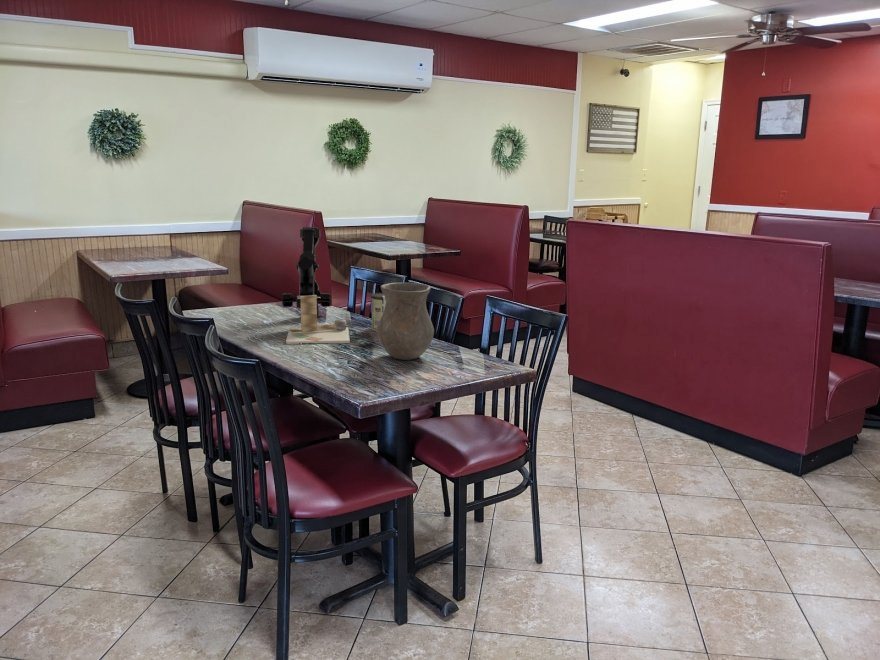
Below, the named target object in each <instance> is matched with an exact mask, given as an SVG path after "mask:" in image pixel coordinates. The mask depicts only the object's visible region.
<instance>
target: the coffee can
mask: <svg viewBox="0 0 880 660" xmlns="http://www.w3.org/2000/svg"><path fill="white" fill-rule="evenodd" d="M383 295H384V294H383V292H377V293H372V294H371V295H370V296H371V331H373V330H375V331H374V332H377V327H378V325H379V322H380V320H381V317H382V297H383Z"/></svg>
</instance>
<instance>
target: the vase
mask: <svg viewBox="0 0 880 660" xmlns="http://www.w3.org/2000/svg"><path fill="white" fill-rule="evenodd" d="M380 290H381V291H382V292H381V293H383V294H384V296H385V299H386V306H385V309H384V312H383V315H382V317H381V320H380V322H379V325H378V327H377V331H376V335H377V338H378V341H379V344H380V345H381V347H382V348H383V350H384V351H385V352H386V353H387V354H388V355H389V356H391V357H392V358H394V359H396V360H401V361H411V360H416V359H418V358H420V357H421V356H422V355H423V354H424V353H426V351H427V350H428V348H429V346H430V345H431V344H432V341H433V338H434V334H435V328H434V325H433V322H432V319H431V317H430V314H429V313H428V309H427V298H428V295H429V293H430V292H431V286H430V285H428V284H424V283H416V282H401V281H400V282H390V283H389V282H388V283H384V284H382V285H380Z"/></svg>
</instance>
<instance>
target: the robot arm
mask: <svg viewBox="0 0 880 660" xmlns="http://www.w3.org/2000/svg"><path fill="white" fill-rule="evenodd" d="M299 238H300V239H301V241H302V244H303V245H302V253H301V254H300V255H299V260H297V263H296V269H297V270H298V275H299V284H298V285H299V289H298V290H299V291H298V293H299V294H298V295H297V296H293V293H291V292H290V293H282V295H281V304H282V305H281V306H282V307H283V308H291V307H293V305H294V304H296V308H297V309H301V298H300V296H309V295H317V319H318V318H321V317H322V315H320V314H319V309H320V307H319V305H320V306H322V307H324V308H325V307H327V308H328V307H329V308H330V307H331V306H332V294H331V293H330V292H329V293H326V292H325V293H322V292H321V290H320V287H319V284H318V282H317V281H316V271H317V270H318V269H319V263H318V261H316V248H317V246H318V245H319V241H320V239H321V230H320V229H319V228H318V226H303V227H302V229H301V228H300V229H299Z"/></svg>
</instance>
